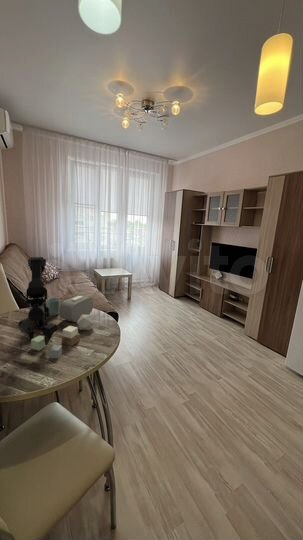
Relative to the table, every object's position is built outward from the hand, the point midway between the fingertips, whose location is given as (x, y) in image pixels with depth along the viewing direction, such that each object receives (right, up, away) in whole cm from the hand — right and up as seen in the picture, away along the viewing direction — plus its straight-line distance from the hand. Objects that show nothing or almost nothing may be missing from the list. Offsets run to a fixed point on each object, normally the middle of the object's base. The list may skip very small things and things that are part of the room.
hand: (39, 342), depth 105 cm
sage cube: (0, -2, 0) cm, 2 cm away
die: (+16, +1, +21) cm, 26 cm away
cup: (-10, +6, +37) cm, 39 cm away
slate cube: (+10, -4, -5) cm, 12 cm away
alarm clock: (+6, +4, +35) cm, 36 cm away
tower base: (+13, -2, +6) cm, 15 cm away
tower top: (+13, +2, +5) cm, 14 cm away
